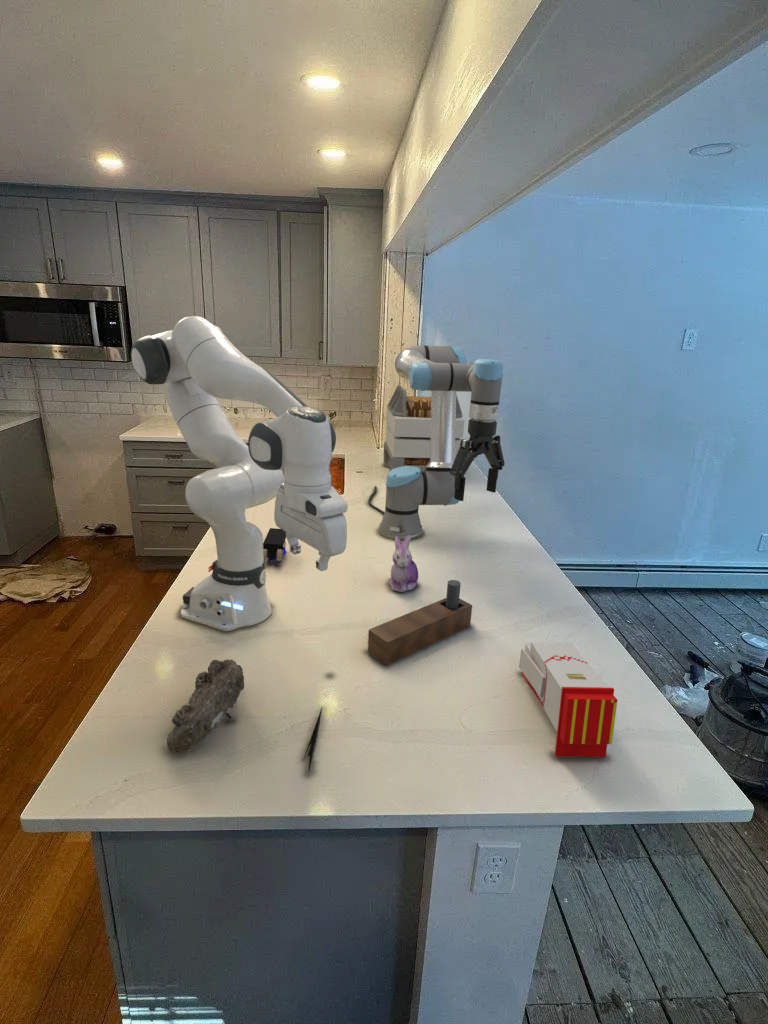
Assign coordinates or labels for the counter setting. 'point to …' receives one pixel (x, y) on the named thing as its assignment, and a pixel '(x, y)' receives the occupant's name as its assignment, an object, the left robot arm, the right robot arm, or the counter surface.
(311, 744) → the feather
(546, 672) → the toy
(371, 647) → the peg board
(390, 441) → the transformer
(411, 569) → the figurine
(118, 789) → the counter surface
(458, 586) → the peg
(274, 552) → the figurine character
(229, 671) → the fossil
